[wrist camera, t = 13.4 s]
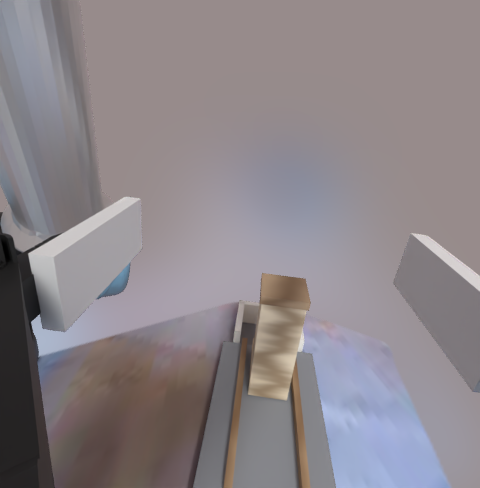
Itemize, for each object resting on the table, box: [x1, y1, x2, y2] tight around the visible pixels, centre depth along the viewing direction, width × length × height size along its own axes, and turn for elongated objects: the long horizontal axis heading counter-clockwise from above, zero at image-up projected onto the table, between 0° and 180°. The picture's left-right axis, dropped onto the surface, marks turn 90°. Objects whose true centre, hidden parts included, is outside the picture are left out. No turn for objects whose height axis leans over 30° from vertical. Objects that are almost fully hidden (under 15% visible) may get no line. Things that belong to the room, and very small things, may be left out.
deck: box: [193, 341, 336, 488], centre depth 36 cm, size 14×26×2 cm, turn 174°
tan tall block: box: [248, 273, 311, 401], centre depth 40 cm, size 5×8×15 cm, turn 174°
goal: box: [233, 300, 304, 352], centre depth 52 cm, size 11×9×4 cm
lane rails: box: [224, 338, 311, 488], centre depth 38 cm, size 8×21×1 cm, turn 174°
